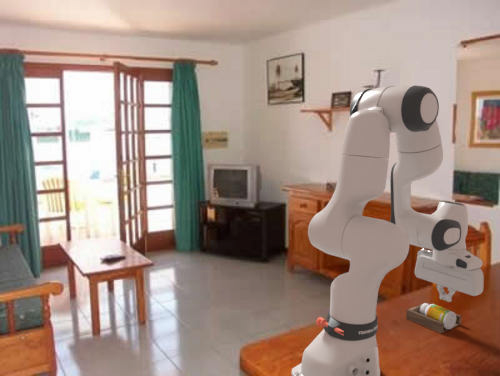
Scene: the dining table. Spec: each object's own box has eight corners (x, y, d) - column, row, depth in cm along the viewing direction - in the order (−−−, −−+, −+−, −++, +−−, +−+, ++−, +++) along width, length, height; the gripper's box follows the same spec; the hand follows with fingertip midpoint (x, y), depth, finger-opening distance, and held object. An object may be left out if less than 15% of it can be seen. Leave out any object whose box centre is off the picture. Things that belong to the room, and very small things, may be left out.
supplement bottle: (447, 311, 131) (420, 299, 139) (443, 329, 131) (416, 316, 139) (458, 312, 134) (431, 301, 142) (454, 330, 134) (427, 317, 142)
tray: (441, 333, 131) (441, 323, 131) (406, 318, 141) (406, 309, 141) (460, 324, 137) (461, 315, 136) (425, 311, 147) (426, 302, 146)
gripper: (411, 248, 139) (409, 291, 141) (476, 266, 123) (472, 314, 125) (424, 245, 143) (421, 287, 145) (488, 262, 126) (484, 309, 128)
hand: (445, 300), depth 135 cm, fingers closed
